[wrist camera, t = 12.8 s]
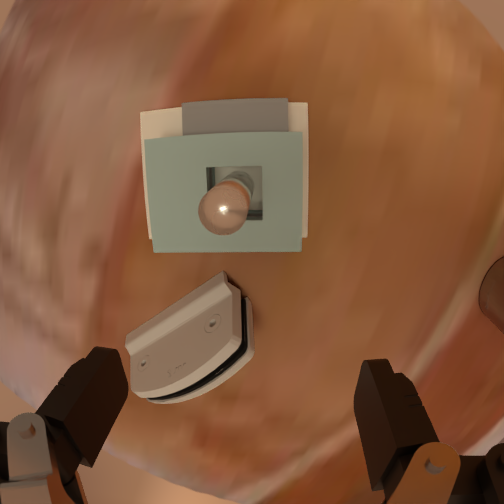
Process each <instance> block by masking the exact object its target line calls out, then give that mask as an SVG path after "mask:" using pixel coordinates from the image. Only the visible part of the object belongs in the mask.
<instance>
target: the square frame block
mask: <svg viewBox="0 0 504 504" xmlns="http://www.w3.org/2000/svg"><path fill="white" fill-rule="evenodd" d="M140 120H141V146H142V164H143V179H144V192H145V203H146V213H147V223H148V232H149V239H152V242H153V250H154V253H158V252H301V250H302V237H307V232H308V103H299V102H288V98H251V99H227V100H211V101H198V102H188V103H182V107H178V108H169V109H161V110H153V111H146V112H140ZM234 171H243V172H246V173H247V174H249V175H250V176H251V178H252V179H253V181H254V192H253V196H252V199H251V203H250V207H249V210H248V214H247V217H246V221H245V223H244V224H243V226H242V227H241V228H240V229H239V230H238V231H237V232H235V233H233V234H230V235H224V236H223V235H216V234H213V233H211V232H210V231H208V230H207V229H206V228H205V227H204V226H203V225H202V223H201V221H200V219H199V215H198V207H199V203H200V201H201V199H202V197H203V196H204V195H205V194H206V193H207V192H208V191H209V190H210V189H212V188H213V187H214V186H215V185H216V184H217V183H219V182H220V181H221V180H222V179H223V178H225V177H226V176H227V175H228V174H230V173H231V172H234Z"/></svg>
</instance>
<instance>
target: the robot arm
mask: <svg viewBox="0 0 504 504" xmlns="http://www.w3.org/2000/svg"><path fill="white" fill-rule="evenodd" d="M479 304H480V308H481V310H482V312H483V313H484V314H485V315H486V316H487V317H488V318H489V319H490V320H491V321H492V322H493V323H494V324H495V325H496V326H497V327H498V328H499V329H500V330H501V332H502V333H503V334H504V257H503V258H501V259H500V260H498V261H497V262H496V263H495V264H494V265H493V266H492V268H491V269H490V270H489V272H488V273H487V275H486V277H485V279H484V281H483V283H482V286H481V289H480V295H479ZM127 396H128V382H127V378H126V375H125V372H124V369H123V365H122V362H121V358H120V355H119V352H118V351H117V350H116V349H111V348H105V347H98V346H96V347H94V348H93V349H92V351H91V352H90V353H89V354H88V356H87V357H86V358H82V359H81V360H79V361H78V362H76V363H75V364H73V365H72V366H71V367H70V368H69V369H68V370H67V372H66V373H65V374H64V377H62V378H61V379H60V381H59V382H58V385H56V386H55V387H54V389H53V390H52V391H51V393H50V394H49V395H48V396H47V398H46V399H45V400H44V402H43V403H42V405H41V406H40V407H39V409H38V410H37V411H36V413H23V414H20V415H18V416H16V417H15V418H14V419H12V420H11V422H10V423H9V422H0V504H88V502H87V499H86V496H85V493H84V489H83V486H82V483H81V480H80V476H79V473H78V471H77V468H78V466H79V464H82V465H85V466H88V467H91V468H92V467H93V465H94V462H95V460H96V458H97V456H98V454H99V452H100V450H101V448H102V446H103V444H104V442H105V440H106V438H107V436H108V434H109V432H110V430H111V428H112V426H113V424H114V422H115V420H116V418H117V416H118V414H119V413H120V411H121V409H122V407H123V405H124V403H125V401H126V399H127ZM354 412H355V417H356V421H357V425H358V429H359V433H360V438H361V442H362V447H363V451H364V456H365V460H366V465H367V469H368V474H369V479H370V484H371V489H372V491H377V490H383V489H384V493H385V499H384V500H383V502H382V503H381V504H504V443H501V444H497V445H495V446H493V447H492V448H491V449H490V450H489V452H488V453H487V454H486V456H462V455H458V453H457V452H456V451H455V449H453V448H452V447H451V446H449V445H447V444H445V443H441V442H440V441H439V439H438V437H437V435H436V433H435V430H434V428H433V426H432V423H431V421H430V419H429V417H428V415H427V412H426V410H425V408H424V406H422V401H421V399H420V397H419V396H418V393H417V391H416V389H415V387H414V385H413V383H412V382H411V381H410V380H409V379H408V378H407V377H406V376H405V375H404V374H403V373H394V372H393V369H392V367H391V365H390V363H389V361H388V360H387V359H373V360H364V361H363V363H362V366H361V370H360V374H359V378H358V382H357V386H356V390H355V394H354Z"/></svg>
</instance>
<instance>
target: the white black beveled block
mask: <svg viewBox="0 0 504 504" xmlns="http://www.w3.org/2000/svg"><path fill="white" fill-rule="evenodd" d="M125 346H126V348H127V350H128V352H129V354H130V356H131V390H132V391H133V392H134V393H135V394H137V395H138V396H139V397H141V398H146V399H147V400H148V401H149V402H153V403H160V404H169V403H177V402H182V401H186V400H189V399H192V398H195V397H197V396H200V395H202V394H204V393H206V392H208V391H210V390H212V389H213V388H215V387H217V386H218V385H220V384H221V383H223V382H224V381H226V380H227V379H228V378H230V377H231V376H232V375H234V374H235V373H236V372H237V371H239V370H240V369H241V368H242V367H243V366H244V365H245V364H246V363H247V362H248V361H249V360H250V359H251V358H252V357H253V355H254V352H255V348H254V331H253V315H252V304H251V302H250V300H249V298H248V297H246V298H245V299H244V298H242V299H241V295H240V290H239V289H238V288H236V287H235V286H233V285H231V284H230V283H228V281H227V274H226V273H225V272H224V271H222V272H220V273H219V274H217V275H216V276H214V277H213V278H211V279H210V280H208V281H207V282H205V283H204V284H202V285H201V286H199V287H198V288H196V289H195V290H193V291H192V292H190V293H189V294H187V295H186V296H184V297H183V298H181V299H180V300H178V301H177V302H175V303H174V304H172V305H171V306H169V307H168V308H166V309H165V310H163V311H162V312H160V313H159V314H157V315H156V316H154V317H153V318H151V319H150V320H148V321H147V322H145V323H144V324H142V325H141V326H139V327H138V328H136V329H135V330H133V331H132V332H130V333H129V334H127V335H126V342H125Z"/></svg>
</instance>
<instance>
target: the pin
mask: <svg viewBox="0 0 504 504" xmlns="http://www.w3.org/2000/svg"><path fill="white" fill-rule="evenodd" d="M253 192H254V181H253V179H252V178H251V176H250V175H249V174H247V173H246V172H243V171H234V172H231V173H230V174H228V175H227V176H226V177H225V178H223V179H222V180H221V181H220V182H219V183H217V184H216V185H215V186H214V187H213V188H212V189H210V190H209V191H208V192H207V193H206V194H205V195H204V196H203V197H202V199H201V201H200V203H199V207H198V215H199V219H200V221H201V223H202V225H203V226H204V227H205V228H206V229H207V230H208V231H210V232H211V233H213V234H216V235H223V236H224V235H230V234H233V233H235V232H237V231H238V230H239V229H240V228H241V227H242V226H243V224H244V223H245V221H246V217H247V214H248V210H249V207H250V203H251V199H252V196H253Z"/></svg>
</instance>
